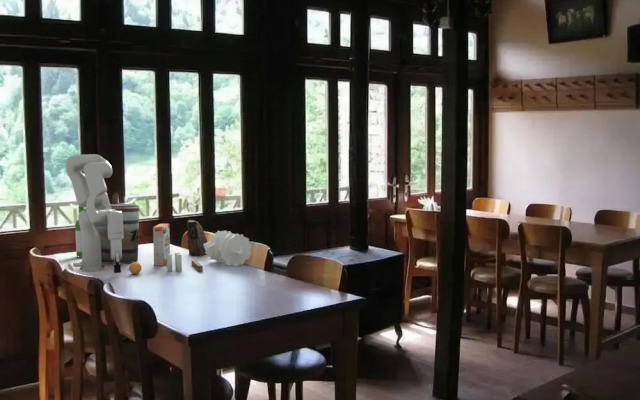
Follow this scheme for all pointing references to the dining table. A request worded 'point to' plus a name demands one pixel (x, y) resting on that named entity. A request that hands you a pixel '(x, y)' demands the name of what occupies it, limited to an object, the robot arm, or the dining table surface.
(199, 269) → the brown wooden bar
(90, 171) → the robot arm
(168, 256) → the front pin
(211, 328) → the dining table surface
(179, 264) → the pin
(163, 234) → the cracker box
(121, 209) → the barrel
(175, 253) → the pin
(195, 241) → the dark brown tall piece
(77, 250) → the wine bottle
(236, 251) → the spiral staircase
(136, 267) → the ball
